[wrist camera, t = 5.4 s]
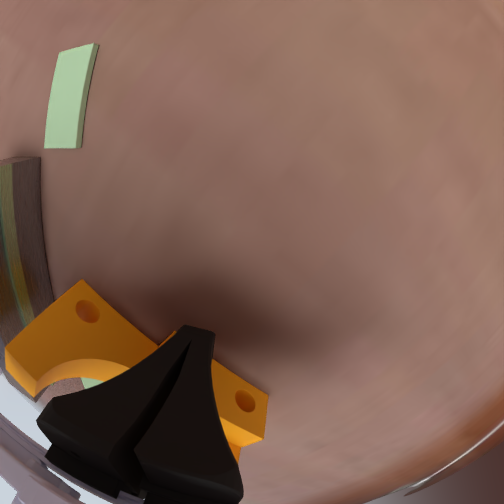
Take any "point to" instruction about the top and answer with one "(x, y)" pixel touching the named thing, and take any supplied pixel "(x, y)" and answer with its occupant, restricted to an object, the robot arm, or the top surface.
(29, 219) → the curved gray arc panel
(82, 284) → the pipe clamp
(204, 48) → the top surface
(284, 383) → the top surface
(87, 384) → the plate
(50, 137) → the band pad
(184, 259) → the top surface
